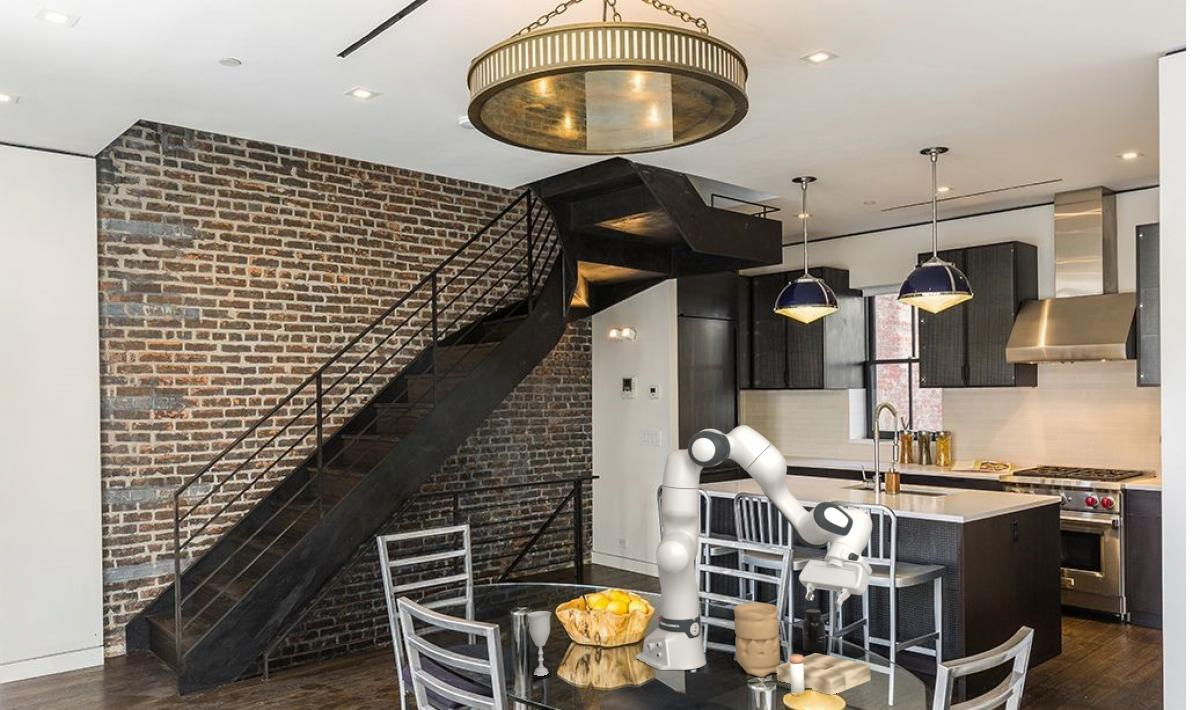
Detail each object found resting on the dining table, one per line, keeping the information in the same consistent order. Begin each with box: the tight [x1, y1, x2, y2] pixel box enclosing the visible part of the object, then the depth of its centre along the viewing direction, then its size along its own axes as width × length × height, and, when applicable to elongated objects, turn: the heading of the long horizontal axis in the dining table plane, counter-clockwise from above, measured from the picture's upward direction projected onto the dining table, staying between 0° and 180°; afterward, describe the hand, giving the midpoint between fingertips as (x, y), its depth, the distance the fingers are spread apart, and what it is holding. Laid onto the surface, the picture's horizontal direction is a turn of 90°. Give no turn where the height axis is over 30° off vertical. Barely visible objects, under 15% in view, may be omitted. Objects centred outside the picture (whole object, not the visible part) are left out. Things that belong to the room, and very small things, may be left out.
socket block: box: [776, 652, 872, 695], centre depth 248 cm, size 18×18×4 cm
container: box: [733, 602, 781, 678], centre depth 260 cm, size 13×13×18 cm
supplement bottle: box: [802, 608, 827, 653], centre depth 278 cm, size 7×7×12 cm
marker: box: [788, 653, 806, 694], centre depth 237 cm, size 4×4×10 cm
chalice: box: [527, 610, 552, 676], centre depth 261 cm, size 7×7×18 cm
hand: (822, 601), depth 246 cm, fingers open, 8 cm apart
